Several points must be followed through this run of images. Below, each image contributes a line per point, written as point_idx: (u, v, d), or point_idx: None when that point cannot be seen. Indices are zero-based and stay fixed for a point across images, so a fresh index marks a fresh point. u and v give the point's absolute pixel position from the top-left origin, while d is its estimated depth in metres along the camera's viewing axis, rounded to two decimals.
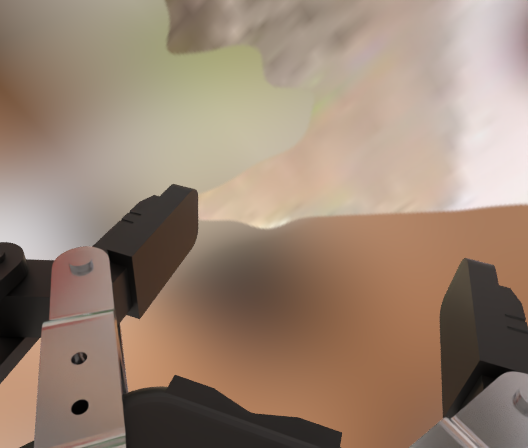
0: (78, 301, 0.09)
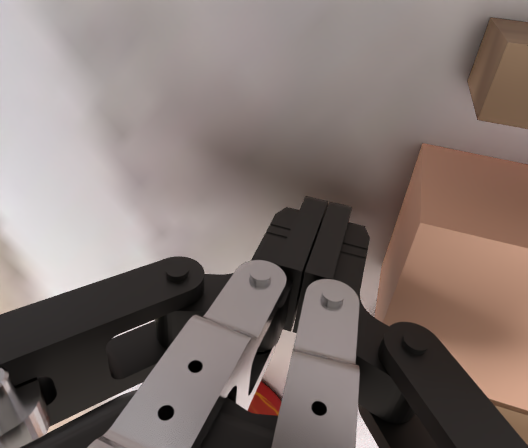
0: (235, 311, 0.09)
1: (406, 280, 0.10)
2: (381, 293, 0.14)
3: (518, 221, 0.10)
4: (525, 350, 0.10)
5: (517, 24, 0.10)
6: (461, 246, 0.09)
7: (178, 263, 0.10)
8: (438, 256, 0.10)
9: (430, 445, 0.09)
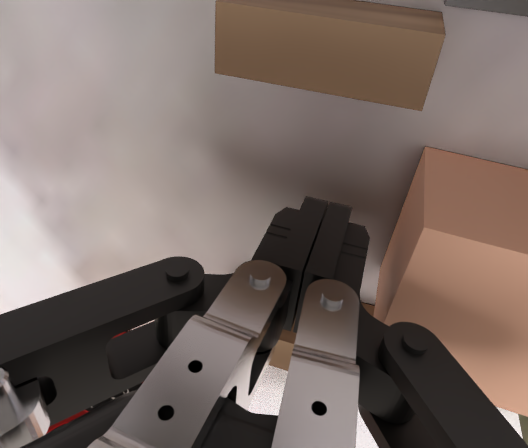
0: (235, 311, 0.09)
1: (408, 285, 0.10)
2: (380, 296, 0.13)
3: (521, 227, 0.10)
4: (524, 356, 0.10)
5: None
6: (464, 252, 0.09)
7: (178, 263, 0.10)
8: (440, 261, 0.10)
9: (430, 445, 0.09)
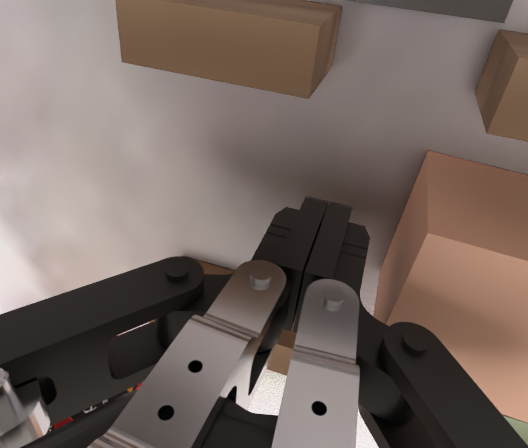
0: (235, 311, 0.09)
1: (409, 290, 0.10)
2: (380, 299, 0.13)
3: (523, 234, 0.10)
4: (524, 362, 0.11)
5: None
6: (467, 258, 0.09)
7: (178, 264, 0.10)
8: (443, 267, 0.10)
9: (430, 445, 0.09)
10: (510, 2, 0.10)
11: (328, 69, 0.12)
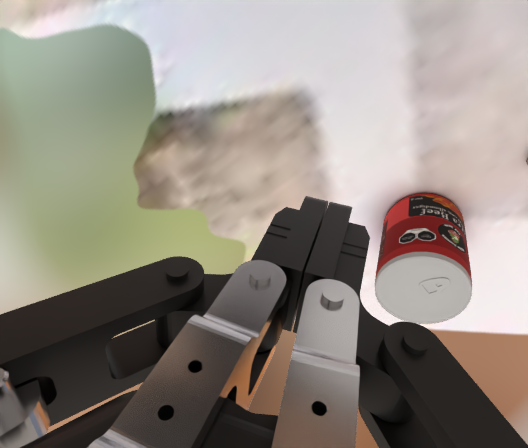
0: (235, 311, 0.09)
1: None
2: None
3: None
4: None
5: None
6: None
7: (178, 263, 0.10)
8: None
9: (430, 445, 0.09)
10: None
11: None
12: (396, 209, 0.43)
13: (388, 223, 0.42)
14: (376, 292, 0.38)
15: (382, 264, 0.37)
